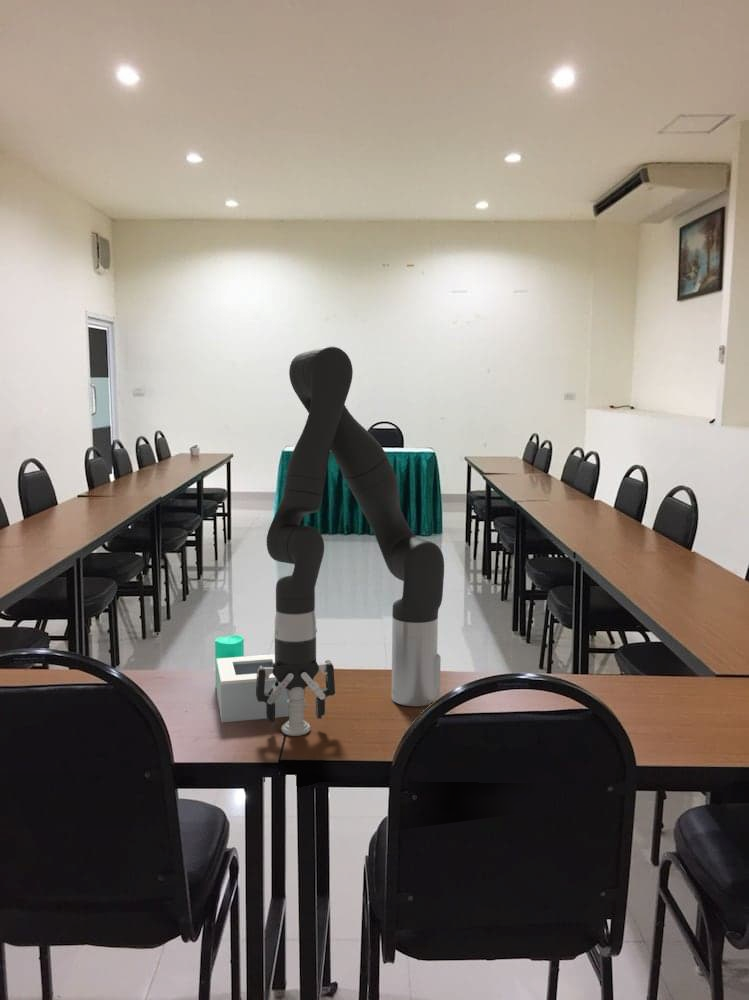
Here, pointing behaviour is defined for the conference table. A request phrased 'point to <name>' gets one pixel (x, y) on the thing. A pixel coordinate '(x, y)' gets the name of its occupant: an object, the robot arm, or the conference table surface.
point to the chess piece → (295, 713)
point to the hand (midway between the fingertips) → (295, 719)
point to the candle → (228, 648)
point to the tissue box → (245, 689)
